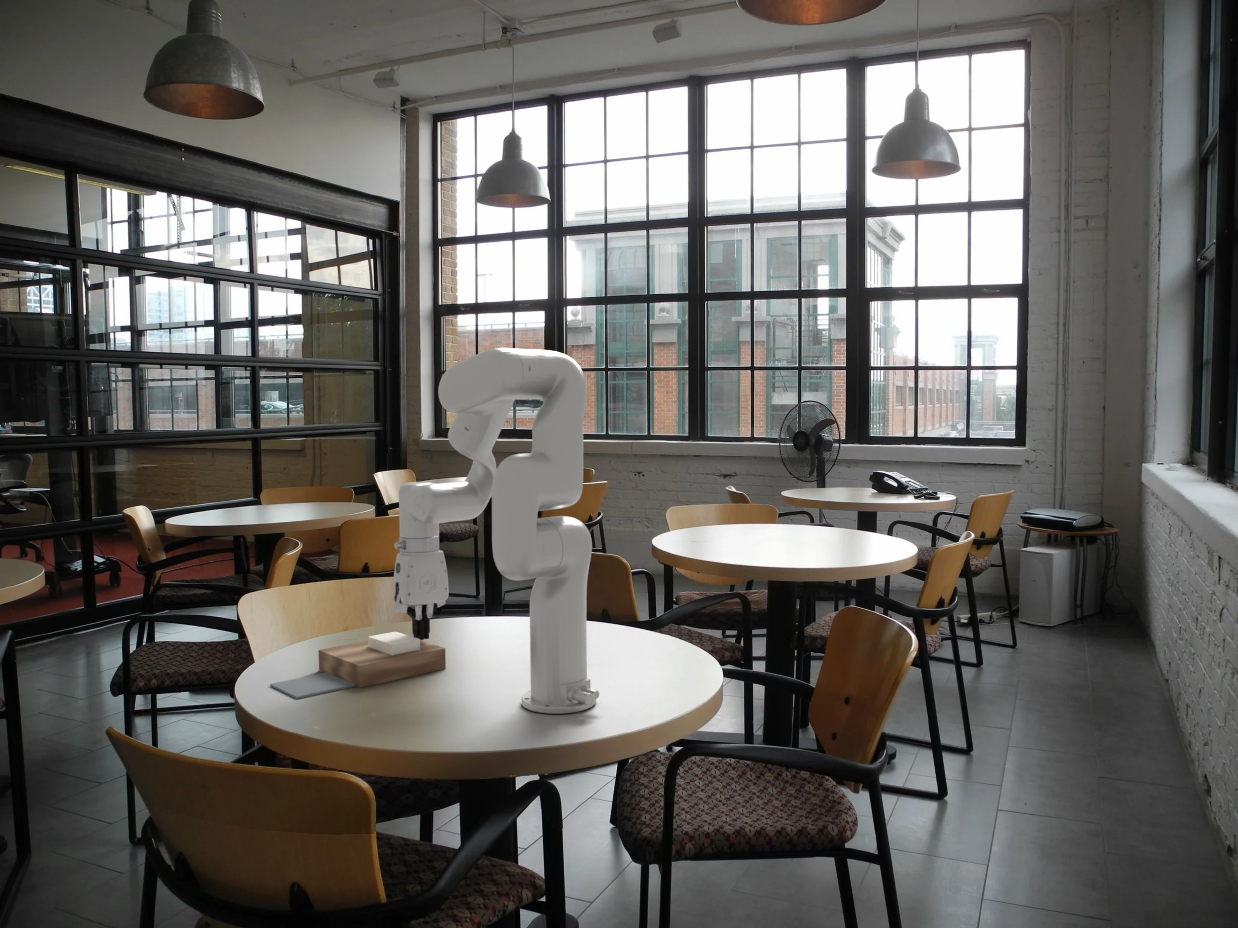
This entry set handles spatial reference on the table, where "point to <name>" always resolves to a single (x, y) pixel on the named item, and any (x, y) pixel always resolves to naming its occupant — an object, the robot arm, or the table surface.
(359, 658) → the board
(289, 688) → the mat
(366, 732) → the table surface
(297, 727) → the table surface
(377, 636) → the cream white rectangular block
